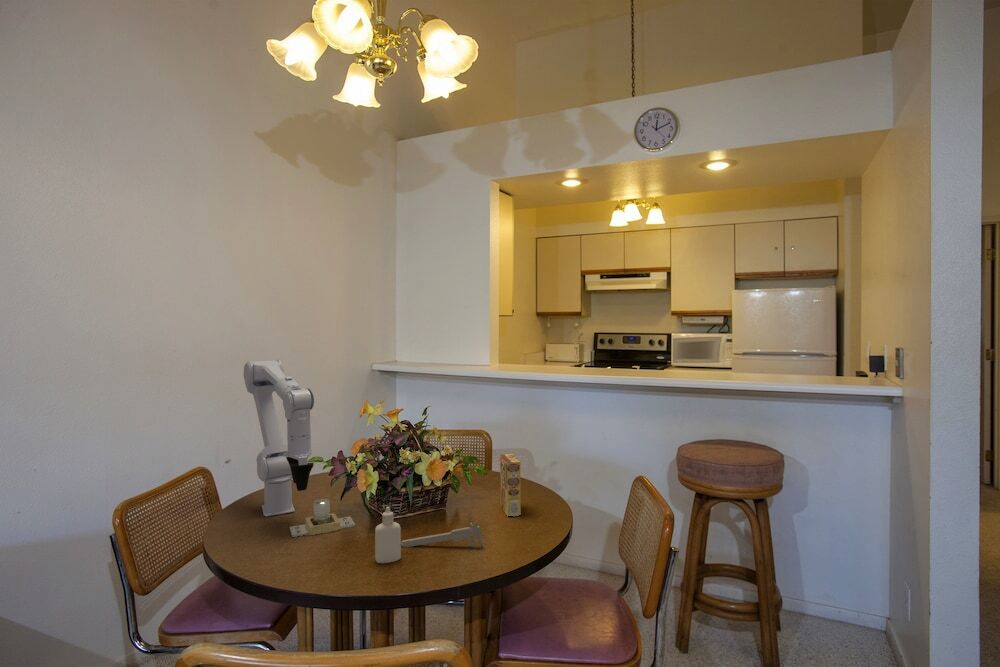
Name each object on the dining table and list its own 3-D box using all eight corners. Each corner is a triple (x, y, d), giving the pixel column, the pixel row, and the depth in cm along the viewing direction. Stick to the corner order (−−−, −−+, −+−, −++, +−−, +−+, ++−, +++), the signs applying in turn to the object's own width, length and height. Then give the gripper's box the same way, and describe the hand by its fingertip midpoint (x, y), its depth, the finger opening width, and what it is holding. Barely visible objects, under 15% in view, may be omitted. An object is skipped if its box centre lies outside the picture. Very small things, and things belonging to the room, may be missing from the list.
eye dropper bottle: (379, 554, 121) (379, 503, 120) (403, 556, 120) (402, 504, 119) (372, 563, 116) (372, 510, 116) (396, 565, 115) (396, 511, 115)
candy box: (521, 516, 144) (521, 461, 144) (506, 517, 143) (506, 462, 143) (513, 505, 153) (513, 453, 152) (499, 506, 152) (499, 454, 151)
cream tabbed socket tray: (289, 528, 136) (289, 520, 136) (349, 517, 143) (349, 510, 143) (292, 538, 129) (292, 531, 129) (355, 527, 136) (355, 519, 136)
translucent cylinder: (312, 526, 137) (312, 500, 137) (328, 523, 139) (328, 497, 139) (315, 532, 133) (314, 505, 133) (331, 529, 135) (330, 502, 135)
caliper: (481, 547, 125) (481, 521, 125) (481, 549, 124) (481, 523, 124) (397, 546, 126) (397, 520, 126) (396, 548, 125) (396, 522, 125)
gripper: (279, 431, 142) (280, 481, 142) (285, 441, 129) (286, 496, 129) (307, 429, 145) (308, 477, 146) (315, 438, 133) (316, 491, 133)
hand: (299, 486), depth 138 cm, fingers open, 7 cm apart
